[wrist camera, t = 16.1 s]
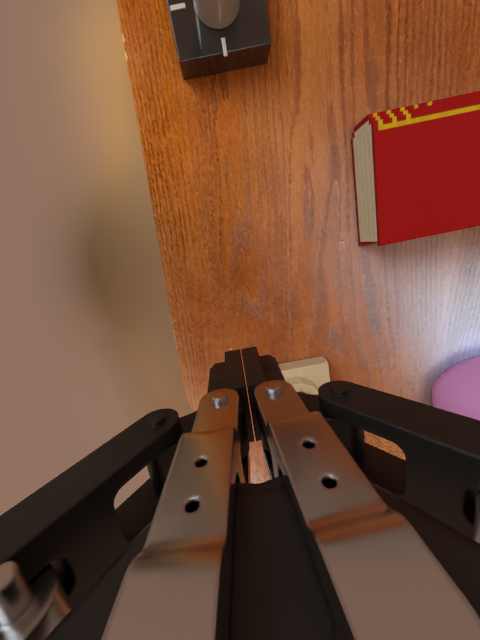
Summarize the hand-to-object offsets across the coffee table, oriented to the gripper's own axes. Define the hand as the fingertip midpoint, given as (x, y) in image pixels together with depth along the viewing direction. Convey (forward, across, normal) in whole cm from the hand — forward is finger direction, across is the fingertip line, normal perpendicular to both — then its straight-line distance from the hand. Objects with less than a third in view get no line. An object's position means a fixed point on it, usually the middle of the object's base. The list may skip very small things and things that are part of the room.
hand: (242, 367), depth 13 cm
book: (+23, -26, -10) cm, 36 cm away
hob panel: (+23, -3, -27) cm, 36 cm away
